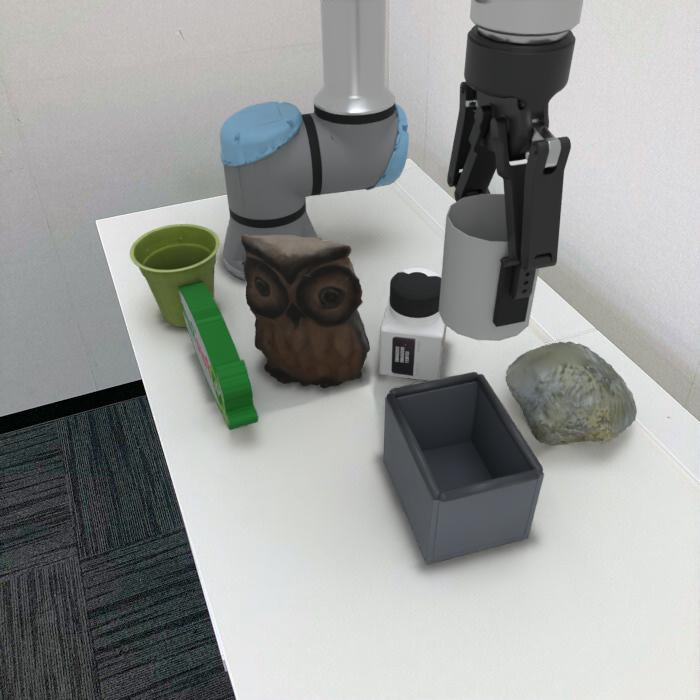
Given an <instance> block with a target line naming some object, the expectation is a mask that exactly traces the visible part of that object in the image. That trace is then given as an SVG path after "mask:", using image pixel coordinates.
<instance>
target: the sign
mask: <svg viewBox="0 0 700 700" xmlns="http://www.w3.org/2000/svg"><path fill="white" fill-rule="evenodd" d="M178 288H179V294H180V299H181V305H182V311H183V316H184V320H185V323H186V326H187V327H186V329H187V331H188V335H189V337H190V340H191V343H192V346H193V349H194V352H195V354H196V357H197V359H198V362H199V365H200V367H201V368H200V369H201V370H202V372H203V375H204V377H205V380H206V382H207V385H208V387H209V390H210V392H211V395H212V397H213V398H214V401H215V404H216V405H217V407H218V409H219V411H220V412H221V414H222V416H223V419H224V422H225V424H226V426H227V429H228V430H229V431H233V430H236V429H240V428H242V427H245V426H246V427H247V426H249V425H252V424H256V423H257V422H258V421H259V414H258V412H257V409H256V406H255V404H254V392H253V387H252V383H251V378H250V375H249V372H248V369H247V365H246V362H245V360H244V359H241V358H240V355H239V353H238V350H237V348H236V344H235V342H234V340H233V338H232V336H231V333H230V330H229V328H228V326H227V324H226V321H225V319H224V317H223V315H222V313H221V311H220V309H219V307H218V305H217V303H216V301H215V298H214V299H213V297H212V295H211V293H210V291H209V290H208V288H207V287H206V285H205V284H204V283H203V281H198V282H195V283H192V284H188V285H183V286H178Z"/></svg>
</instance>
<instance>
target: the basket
mask: <svg viewBox="0 0 700 700" xmlns="http://www.w3.org/2000/svg"><path fill="white" fill-rule="evenodd" d="M383 415H384V419H383V452H382V453H383V454H382V456H383V457H382V458H383V459H382V461H383V464H384V466H385V469H386V471H387V473H388V475H389V478H390V481H391V483H392V486H393V488H394V490H395V493H396V495H397V497H398V499H399V502H400V504H401V507H402V509H403V512H404V514H405V516H406V519H407V521H408V523H409V526H410V529H411V531H412V533H413V535H414V538H415V540H416V543H417V545H418V547H419V550H420V553H421V555H422V557H423V559H424V562H425V564H426V565H431V564H434V563H438V562H443V561H446V560H450V559H454V558H457V557H463V556H465V555H470V554H473V553H478V552H481V551H485V550H488V549H492V548H496V547H500V546H503V545H507V544H511V543H516V542H519V541H523V540H527V539H529V537H530V532H531V529H532V526H533V525H532V524H533V520H534V517H535V513H536V509H537V505H538V502H539V497H540V494H541V490H542V486H543V482H544V477H545V473H544V466H543V465H542V463H541V462H540V461H539V459H538V457H537V455H536V454H535V453H534V451H533V450H532V448H531V446H530V445H529V443H528V442H527V440H526V439H525V437H524V435H523V433H522V432H521V431H520V429H519V428H518V426H517V425H516V423H515V421H514V419H513V418H512V416H511V415H510V414H509V412H508V411H507V409H506V408H505V406H504V404H503V403H502V401H501V400H500V398H499V396H498V395H497V393H496V392H495V390H494V389H493V388H492V385H491V384H490V383H489V381H488V379H487V378H486V376H485V375H484V374H482V373H478V372H477V371H471V372H466V373H461V374H456V375H452V376H446V377H442V378H441V377H440V378H439V379H436V380H431V381H427V380H425V381H423V382H417V383H413V384H408V385H402V386H398V387H394V388H391V389H390V390H389V391H388V393H386V396H385V397H384V414H383Z"/></svg>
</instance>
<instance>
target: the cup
mask: <svg viewBox="0 0 700 700" xmlns="http://www.w3.org/2000/svg"><path fill="white" fill-rule="evenodd" d="M443 241H444V243H443V251H442V252H443V255H442V265H441V267H442V268H441V276H440V277H441V288H440V300H439V314H440V316H441V318H442V320H443V323H444V324H445V325H446V327H448V328H449V329H450V330H452V331H453V332H455V333H456V334H457V335H460V336H462V337H466V338H469V339H472V340H475V341H494V342H500V341H503V340H506V339H510V338H513V337H517V336H519V335H520V334H521V333H522V332H523V331H524V330H525V329H527V328H528V327H529V325H530V320H531V319H530V318H531V313H532V308H533V303H534V298H535V292H536V288H537V282H538V276H539V271H540V268H539V269H536V272H535V278H534V282H533V289H532V293H531V295H530V298H529V303H528V309H527V314H526V320H525V321H524V322H519V323H514V324H509V325H504V326H499V327H496V326H495V324H494V323H493V316H494V309H495V302H496V295H497V289H498V282H499V275H500V268H501V262H500V259H502V257H507V256H509V254H508V240H507V226H506V212H505V197H504V193H491V194H478V195H473V196H469V197H464V198H462V199H460V200H459V201H457V202H456V201H455V202H453V203H452V204H451V205H450V206H449V208H448V210H447V214H446V217H445V229H444V240H443Z"/></svg>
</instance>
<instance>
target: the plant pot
mask: <svg viewBox="0 0 700 700" xmlns="http://www.w3.org/2000/svg"><path fill="white" fill-rule="evenodd" d="M220 244H221V242H220V237H219V236H218V234H216V232H214V231H213V230H212V229H209V228H208V227H205V226H202V225H198V224H192V223H175V224H169V225H163V226H160V227H157V228H154V229H152V230H148V232H145V233H144V234H142V235H141V236H139V237H138V238H137V239H136V240H135V241H133V243H132V245H131V247H130V249H129V257H130V260H131V262H132V263H133V264H134V265H135V266H136V267H138V269H139V271H140V273H141V275H142V276H143V277H144V279H145V280H146V282H147V285H148V287H149V289H150V291H151V293H152V295H153V297H154V300H155V302H156V305H157V307H158V308H159V310H160V313H161V315H162V317H163V319H164V321H166V322H167V323H169V324H170V325H172V326H173V327H177V328H178V327H179V328H187V326H186V323H185V320H184V316H183V311H182V305H181V299H180V294H179V288H178V286H183V285H188V284H192V283H195V282H198V281H203V283H204V284H205V285H206V287H207V288H208V290H209V291H210V293H211V295H212V297H213V299H214V300H215V265H216V261H217V253H218V251H219V249H220V246H221V245H220Z"/></svg>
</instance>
